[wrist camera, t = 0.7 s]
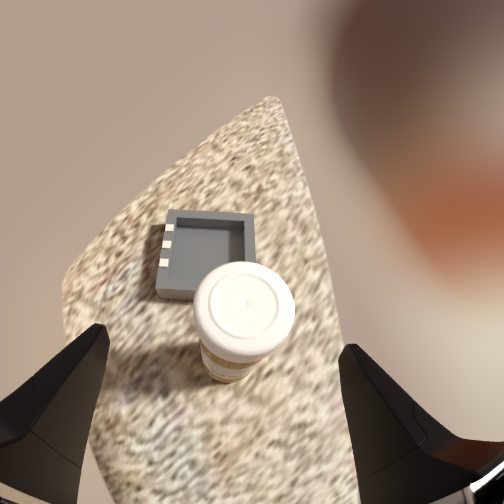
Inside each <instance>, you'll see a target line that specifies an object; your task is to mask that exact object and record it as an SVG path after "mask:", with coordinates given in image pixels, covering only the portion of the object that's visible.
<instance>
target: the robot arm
mask: <svg viewBox="0 0 504 504" xmlns="http://www.w3.org/2000/svg"><path fill="white" fill-rule="evenodd" d="M109 346H110V339H109V336H108V332H107V329H106V326H105V325H103V324H98V323H95V324H93V325H92V326H90V327H89V328H88V329H87V330H86V331H84V332H83V333H82V334H81V335H80V336H78V337H77V338H76V339H75V340H74V341H72V342H71V343H70V344H69V345H68V346H66V347H65V348H64V349H63V350H62V351H61V352H60V353H58V354H57V355H56V356H55V357H53V358H52V359H51V360H50V361H49V362H48V363H47V364H45V365H44V366H43V367H42V368H41V369H40V370H39V371H37V372H36V373H35V374H34V376H32V377H31V378H29V379H28V380H27V381H26V382H25V383H24V384H22V385H21V386H20V387H19V388H18V389H16V390H15V391H14V392H13V393H11V394H10V395H9V396H7V397H6V398H5V399H3V400H2V401H0V504H77V496H78V489H79V482H80V476H81V468H82V463H83V458H84V453H85V448H86V443H87V439H88V435H89V430H90V426H91V422H92V418H93V414H94V410H95V406H96V403H97V399H98V395H99V392H100V388H101V385H102V381H103V377H104V372H105V366H106V361H107V356H108V351H109ZM338 364H339V373H340V382H341V392H342V398H343V403H344V408H345V413H346V418H347V423H348V428H349V433H350V438H351V444H352V449H353V455H354V460H355V466H356V472H357V479H358V486H359V493H360V500H361V504H504V442H489V441H478V440H468V439H462V438H460V437H458V436H456V435H454V434H452V433H451V432H450V431H449V430H448V429H446V428H445V427H444V426H443V425H441V424H440V423H439V422H438V421H437V420H435V419H434V418H433V417H431V415H429V414H428V413H427V412H426V411H425V410H424V409H423V408H422V407H421V406H420V405H418V403H417V402H415V401H413V399H412V398H411V397H410V396H409V395H408V394H407V393H406V392H405V391H404V390H403V389H402V388H401V387H400V386H399V385H398V384H397V383H396V382H395V381H394V380H393V379H392V378H391V377H390V376H389V375H388V374H387V373H386V372H385V371H384V370H383V369H382V368H381V367H380V366H379V365H378V364H377V363H376V362H375V361H374V360H373V359H372V358H371V357H370V356H369V355H368V354H367V353H366V352H365V351H364V350H362V348H360V347H359V346H358V345H357V344H347V345H346V346H345V347H344V349H343V351H342V353H341V354H340V356H339V359H338Z"/></svg>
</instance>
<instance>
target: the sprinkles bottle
mask: <svg viewBox="0 0 504 504" xmlns="http://www.w3.org/2000/svg"><path fill="white" fill-rule="evenodd" d="M193 315H194V323H195V327H196V331H197V334H198V336H199V341H200V348H201V354H202V363H203V366H204V369H205V370H206V372H207V373H208V374H209V375H210V376H211V377H212V378H214V379H216V380H217V381H220V382H223V383H233V382H236V381H239V380H242V379H243V378H244V377H246V376H247V375H248V374H249V372H250V371H251V370H252V369H253V368H254V367H255V366H257V365H258V363H259V362H260V361H261V359H263V358H265V357H267V356H268V355H270V354H271V353H272V352H274V351H275V350H276V349H277V348H278V347H279V346H280V345H281V343H282V342H283V341H284V340H285V338H286V337H287V336H288V334H289V332H290V330H291V328H292V325H293V322H294V316H295V305H294V300H293V297H292V294H291V292H290V290H289V288H288V286H287V285H286V283H285V282H284V281H283V280H282V279H281V277H280V276H279V275H277V274H276V273H275V272H273V271H272V270H270V269H268V268H267V267H265V266H262V265H260V264H256V263H252V262H232V263H227V264H224V265H222V266H219V267H217V268H216V269H214V270H212V271H211V272H210V273H208V274H207V275H206V277H205V278H204V279H203V280H202V281H201V283H200V284H199V286H198V288H197V290H196V293H195V296H194V301H193Z"/></svg>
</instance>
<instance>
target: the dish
mask: <svg viewBox="0 0 504 504" xmlns="http://www.w3.org/2000/svg"><path fill="white" fill-rule="evenodd" d="M232 262H252V263H256V256H255V233H254V214H242V213H227V212H210V211H191V210H168V215H167V220H166V225H165V230H164V236H163V241H162V247H161V253H160V259H159V265H158V272H157V279H156V286H155V289H156V291H157V294H158V296H159V298H164V299H178V300H194V296H195V293H196V290H197V288H198V286H199V284H200V283H201V281H202V280H203V279H204V278H205V277H206V275H207V274H208V273H210V272H211V271H212V270H214V269H216V268H217V267H219V266H222V265H224V264H227V263H232Z"/></svg>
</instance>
